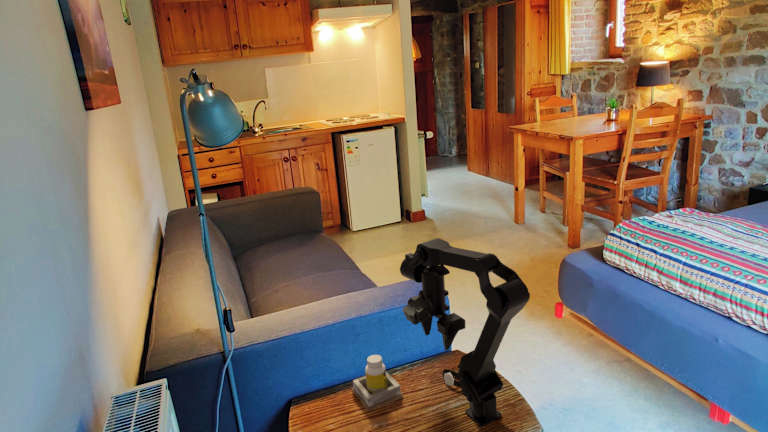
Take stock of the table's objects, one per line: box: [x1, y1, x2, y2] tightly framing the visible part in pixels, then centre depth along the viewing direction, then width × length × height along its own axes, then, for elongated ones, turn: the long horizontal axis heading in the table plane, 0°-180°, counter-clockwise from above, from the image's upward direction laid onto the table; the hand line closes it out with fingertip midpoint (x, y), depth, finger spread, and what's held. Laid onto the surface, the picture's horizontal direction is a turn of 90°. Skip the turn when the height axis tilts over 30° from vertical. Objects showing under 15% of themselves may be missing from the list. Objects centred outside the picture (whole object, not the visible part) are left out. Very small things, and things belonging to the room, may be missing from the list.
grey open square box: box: [351, 371, 404, 412], centre depth 131 cm, size 10×10×4 cm
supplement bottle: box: [364, 354, 387, 394], centre depth 130 cm, size 5×5×10 cm
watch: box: [442, 368, 461, 388], centre depth 134 cm, size 8×5×4 cm, turn 34°
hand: (437, 342), depth 130 cm, fingers open, 9 cm apart
